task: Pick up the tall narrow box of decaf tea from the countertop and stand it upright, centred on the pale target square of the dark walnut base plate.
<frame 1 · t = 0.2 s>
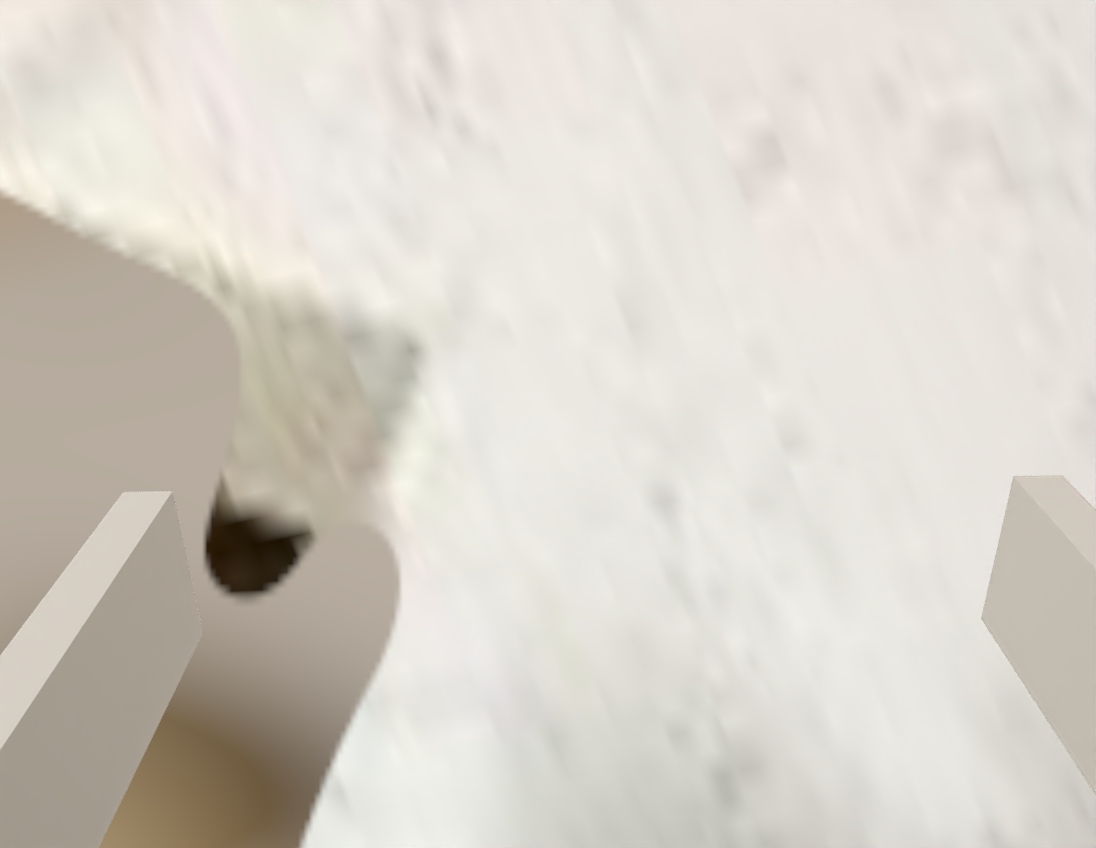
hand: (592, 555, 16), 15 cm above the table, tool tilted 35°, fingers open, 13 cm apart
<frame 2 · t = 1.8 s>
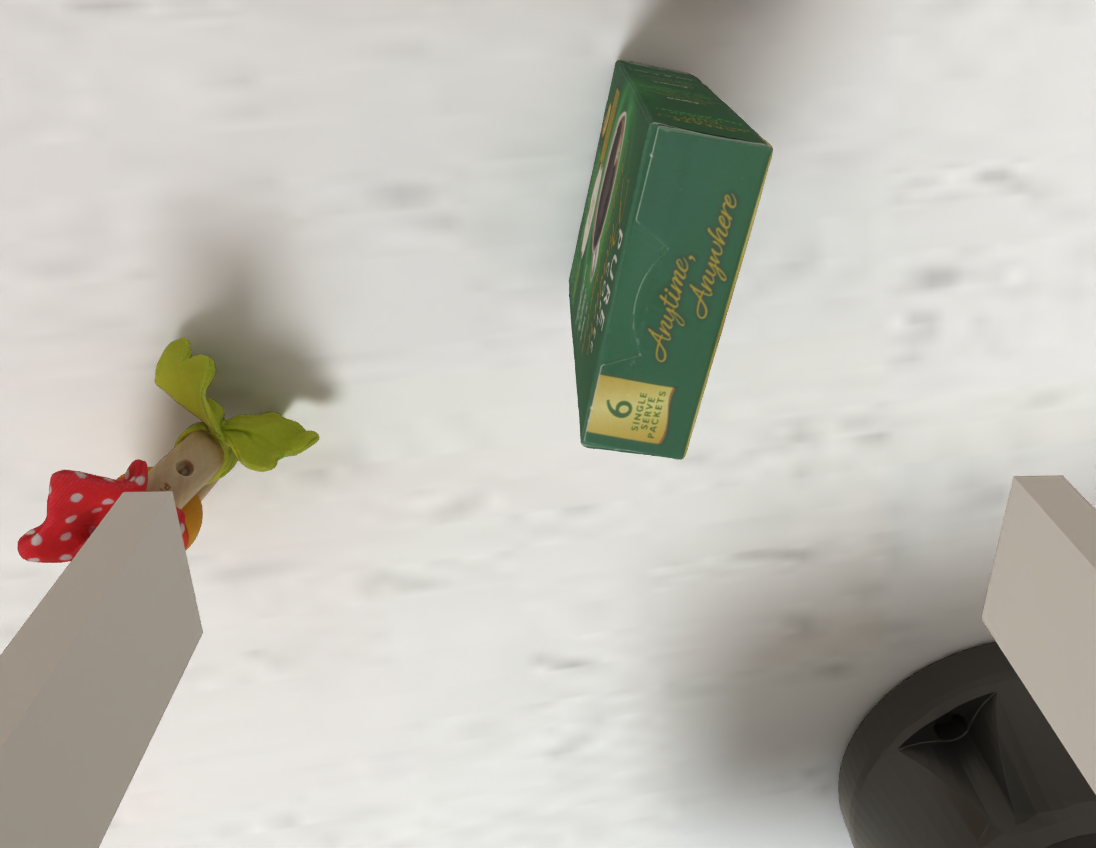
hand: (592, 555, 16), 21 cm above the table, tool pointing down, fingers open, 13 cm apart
bird rattle: (212, 441, 38), on the table
coffee box: (627, 185, 34), on the table
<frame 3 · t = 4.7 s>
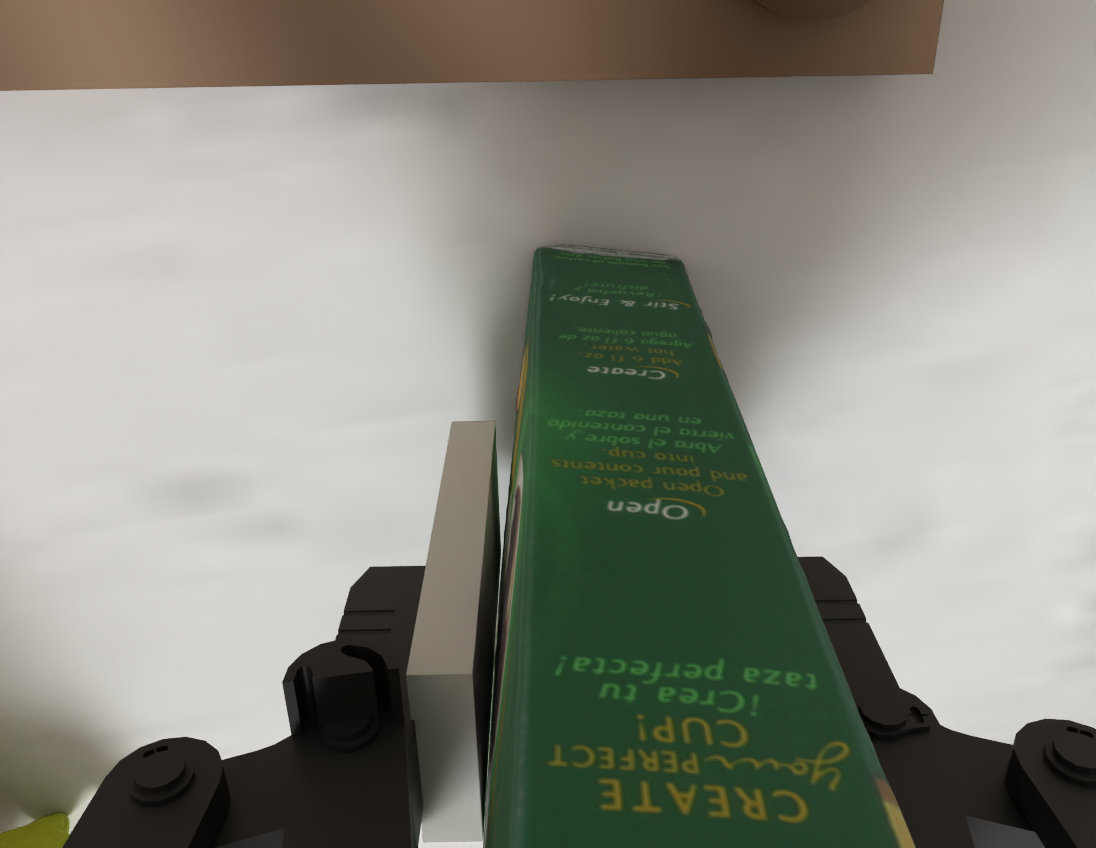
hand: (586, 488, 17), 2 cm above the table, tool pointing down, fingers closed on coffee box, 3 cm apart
coffee box: (583, 441, 19), on the table, touching gripper
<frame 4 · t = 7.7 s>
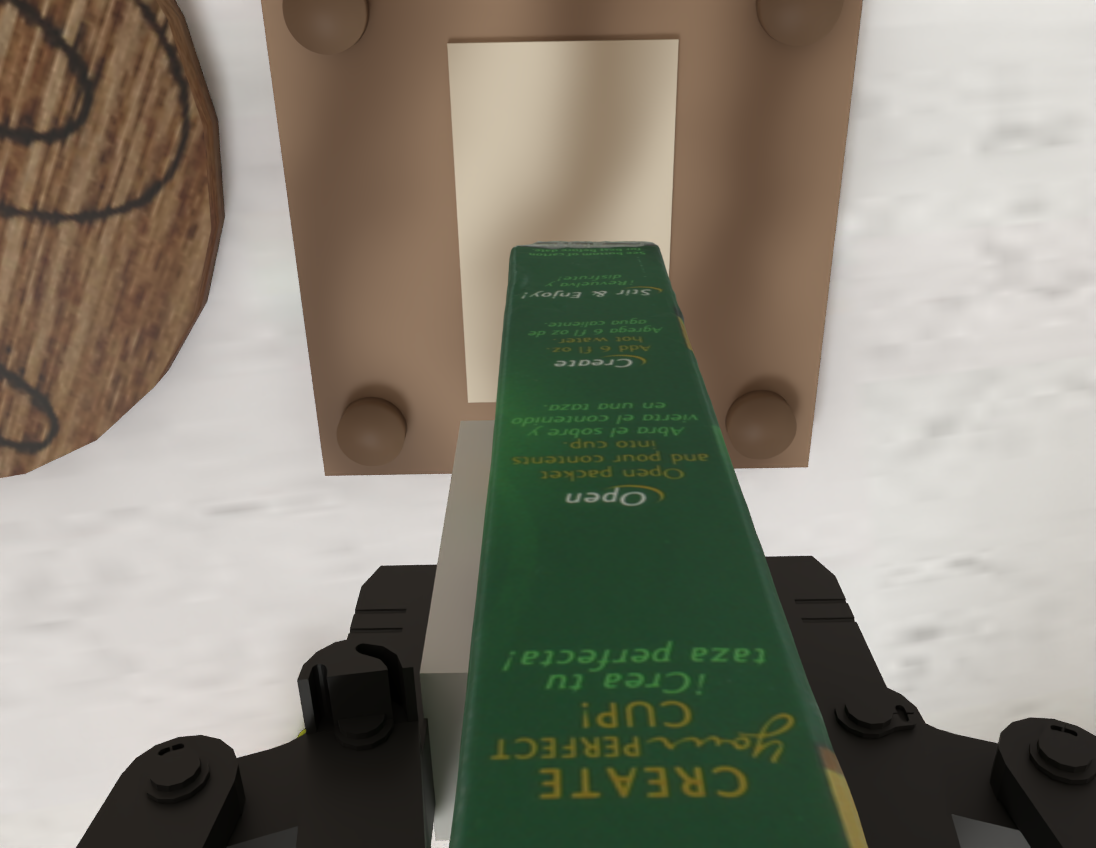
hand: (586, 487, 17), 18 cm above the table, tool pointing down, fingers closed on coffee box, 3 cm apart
base plate: (563, 220, 34), on the table
coffee box: (582, 434, 19), point 16 cm above the table, touching gripper
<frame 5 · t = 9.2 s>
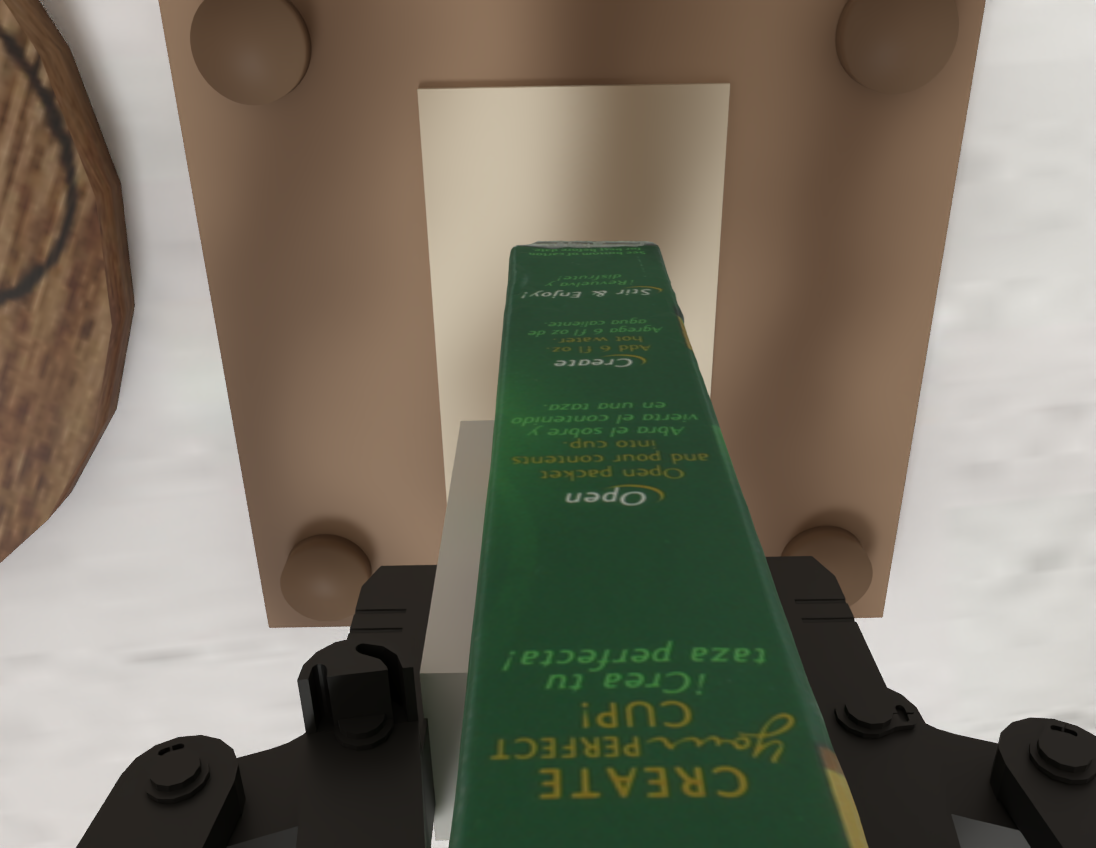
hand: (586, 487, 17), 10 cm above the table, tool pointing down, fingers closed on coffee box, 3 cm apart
base plate: (572, 310, 26), on the table
coffee box: (582, 434, 19), point 8 cm above the table, touching gripper
when the fingers open (5 cm above the table, at t = 10.7 s): coffee box stays where it is, resting on base plate.
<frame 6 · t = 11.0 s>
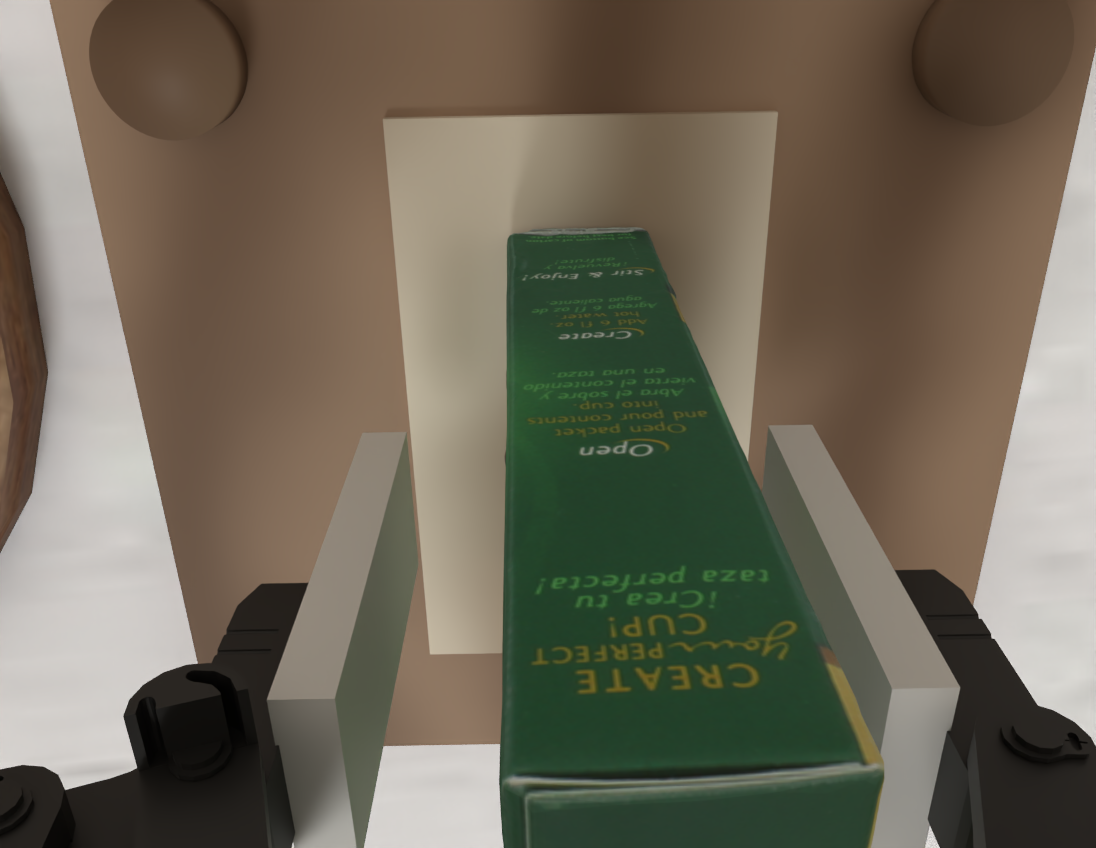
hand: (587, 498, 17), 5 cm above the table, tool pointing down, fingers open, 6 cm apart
base plate: (577, 380, 22), on the table
coffee box: (577, 414, 20), point 2 cm above the table, touching base plate
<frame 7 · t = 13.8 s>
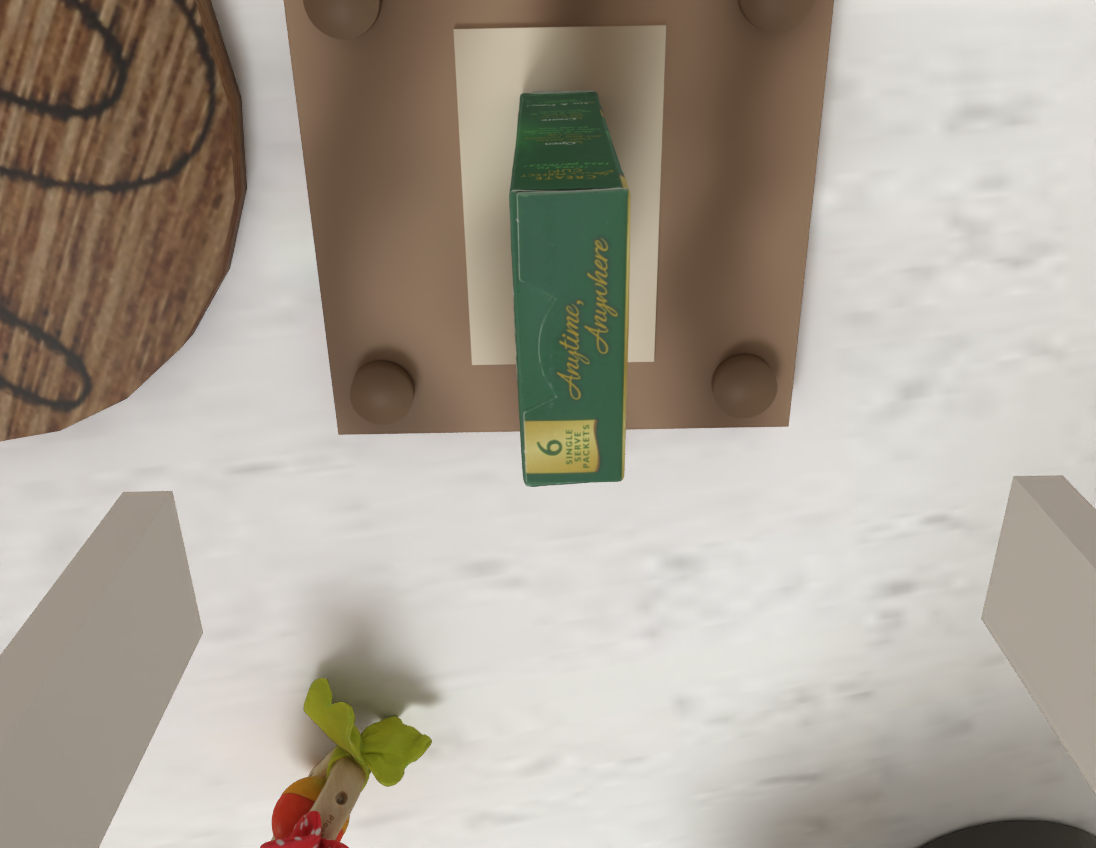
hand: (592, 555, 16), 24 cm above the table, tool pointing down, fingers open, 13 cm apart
bird rattle: (346, 735, 49), on the table
base plate: (560, 195, 37), on the table
coffee box: (560, 205, 35), point 2 cm above the table, touching base plate
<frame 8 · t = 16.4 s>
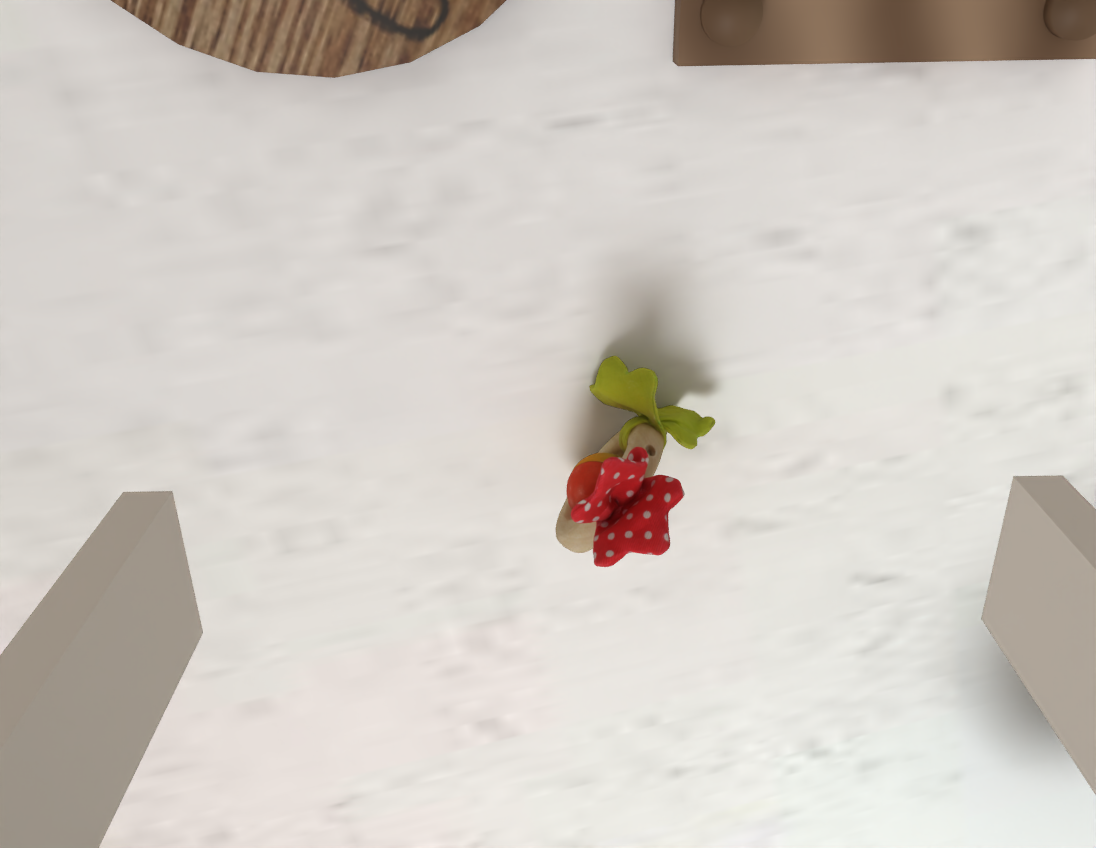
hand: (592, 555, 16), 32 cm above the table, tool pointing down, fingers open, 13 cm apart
bird rattle: (618, 431, 50), on the table
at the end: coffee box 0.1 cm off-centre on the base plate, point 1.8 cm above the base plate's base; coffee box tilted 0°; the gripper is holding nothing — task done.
